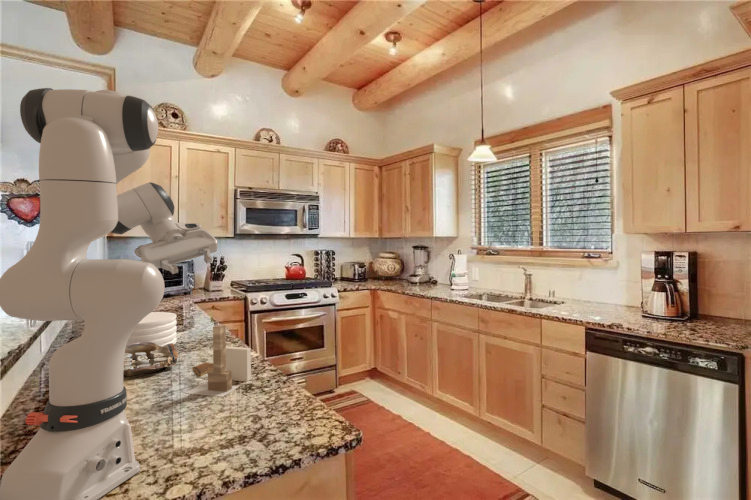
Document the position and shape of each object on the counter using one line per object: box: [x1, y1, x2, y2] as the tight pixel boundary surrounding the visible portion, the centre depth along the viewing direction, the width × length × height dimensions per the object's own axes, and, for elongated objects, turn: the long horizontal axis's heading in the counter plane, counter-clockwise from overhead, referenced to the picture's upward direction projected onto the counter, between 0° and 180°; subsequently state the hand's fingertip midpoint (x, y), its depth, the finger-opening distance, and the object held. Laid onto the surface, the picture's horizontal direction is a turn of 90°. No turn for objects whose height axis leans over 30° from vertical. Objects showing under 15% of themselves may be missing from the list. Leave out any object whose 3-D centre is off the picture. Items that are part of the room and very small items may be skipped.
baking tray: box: [123, 342, 179, 377], centre depth 136 cm, size 30×22×5 cm
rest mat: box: [184, 382, 240, 397], centre depth 113 cm, size 8×12×1 cm, turn 76°
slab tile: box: [226, 346, 252, 383], centre depth 121 cm, size 2×8×10 cm, turn 76°
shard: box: [192, 362, 213, 377], centre depth 130 cm, size 11×8×2 cm
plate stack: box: [127, 311, 178, 347], centre depth 164 cm, size 28×28×12 cm
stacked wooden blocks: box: [207, 324, 233, 392], centre depth 113 cm, size 2×6×18 cm, turn 76°
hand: (193, 266), depth 110 cm, fingers open, 8 cm apart
